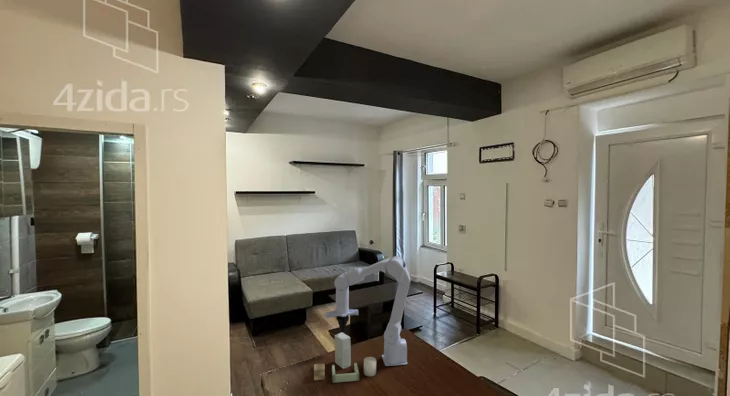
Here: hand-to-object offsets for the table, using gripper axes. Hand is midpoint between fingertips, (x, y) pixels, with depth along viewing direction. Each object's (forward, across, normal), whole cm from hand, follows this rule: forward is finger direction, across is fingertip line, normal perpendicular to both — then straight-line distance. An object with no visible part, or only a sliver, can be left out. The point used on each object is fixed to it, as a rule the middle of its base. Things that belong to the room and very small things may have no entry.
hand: (342, 332), depth 135 cm
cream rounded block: (+10, +8, -17) cm, 21 cm away
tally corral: (+9, -2, -17) cm, 19 cm away
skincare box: (+10, -2, -9) cm, 13 cm away
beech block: (+10, -12, -15) cm, 21 cm away
